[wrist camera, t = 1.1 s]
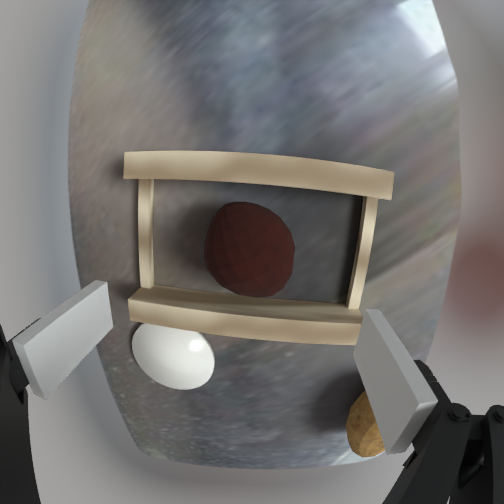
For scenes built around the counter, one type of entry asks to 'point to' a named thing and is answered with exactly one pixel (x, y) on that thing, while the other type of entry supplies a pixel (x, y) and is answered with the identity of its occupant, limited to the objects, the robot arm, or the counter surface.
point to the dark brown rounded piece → (249, 250)
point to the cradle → (244, 307)
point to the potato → (363, 429)
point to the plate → (173, 356)
